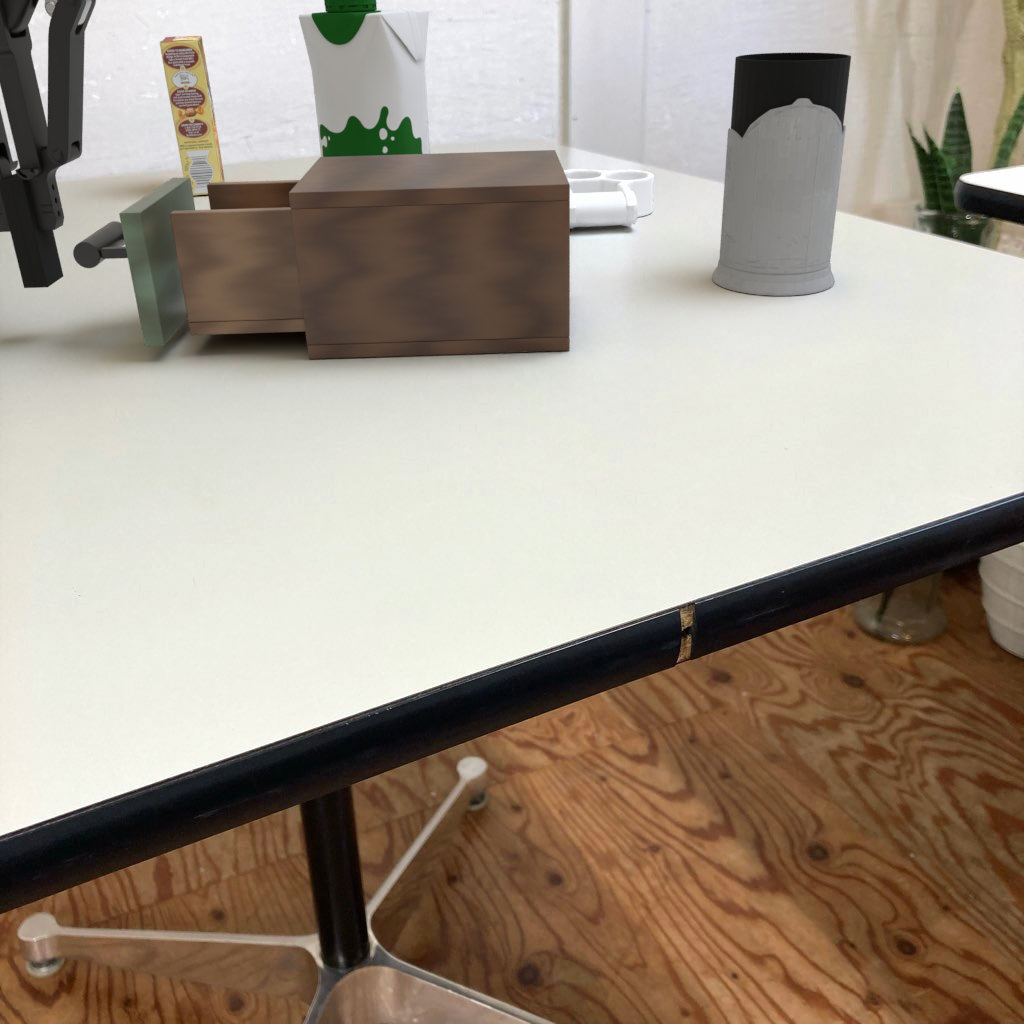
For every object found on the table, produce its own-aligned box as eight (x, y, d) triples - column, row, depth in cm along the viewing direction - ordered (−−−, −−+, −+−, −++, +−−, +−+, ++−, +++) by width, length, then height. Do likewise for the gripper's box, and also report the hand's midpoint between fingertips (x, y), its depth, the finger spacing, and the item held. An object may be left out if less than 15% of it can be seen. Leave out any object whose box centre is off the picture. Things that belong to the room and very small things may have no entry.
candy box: (225, 194, 112) (201, 38, 105) (184, 197, 111) (158, 40, 104) (225, 180, 120) (203, 34, 112) (187, 183, 119) (163, 36, 112)
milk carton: (313, 245, 90) (283, -15, 80) (368, 223, 97) (347, -18, 88) (401, 253, 86) (381, -18, 77) (452, 230, 94) (439, -20, 84)
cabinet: (308, 359, 63) (288, 192, 58) (334, 300, 74) (319, 156, 70) (569, 351, 63) (569, 184, 59) (556, 293, 74) (555, 149, 70)
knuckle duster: (468, 239, 90) (461, 206, 103) (673, 230, 91) (640, 198, 104) (466, 199, 89) (459, 171, 101) (675, 191, 90) (641, 163, 103)
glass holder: (722, 297, 72) (739, 63, 66) (693, 249, 85) (704, 48, 78) (849, 294, 72) (878, 59, 65) (800, 246, 85) (821, 45, 78)
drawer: (74, 348, 63) (44, 215, 59) (132, 295, 73) (109, 179, 69) (386, 338, 63) (375, 205, 59) (399, 287, 73) (391, 171, 70)
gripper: (-225, -159, 52) (-87, 301, 63) (35, -168, 52) (128, 294, 63) (-144, -143, 59) (-32, 271, 70) (86, -151, 59) (162, 264, 70)
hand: (44, 281), depth 66 cm, fingers closed
